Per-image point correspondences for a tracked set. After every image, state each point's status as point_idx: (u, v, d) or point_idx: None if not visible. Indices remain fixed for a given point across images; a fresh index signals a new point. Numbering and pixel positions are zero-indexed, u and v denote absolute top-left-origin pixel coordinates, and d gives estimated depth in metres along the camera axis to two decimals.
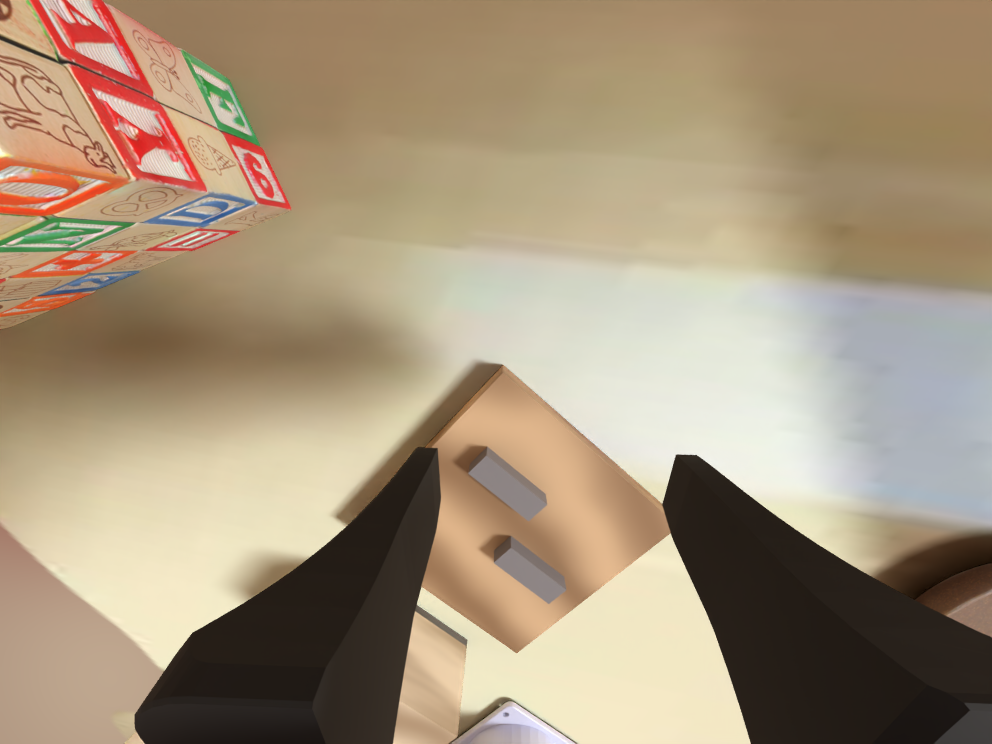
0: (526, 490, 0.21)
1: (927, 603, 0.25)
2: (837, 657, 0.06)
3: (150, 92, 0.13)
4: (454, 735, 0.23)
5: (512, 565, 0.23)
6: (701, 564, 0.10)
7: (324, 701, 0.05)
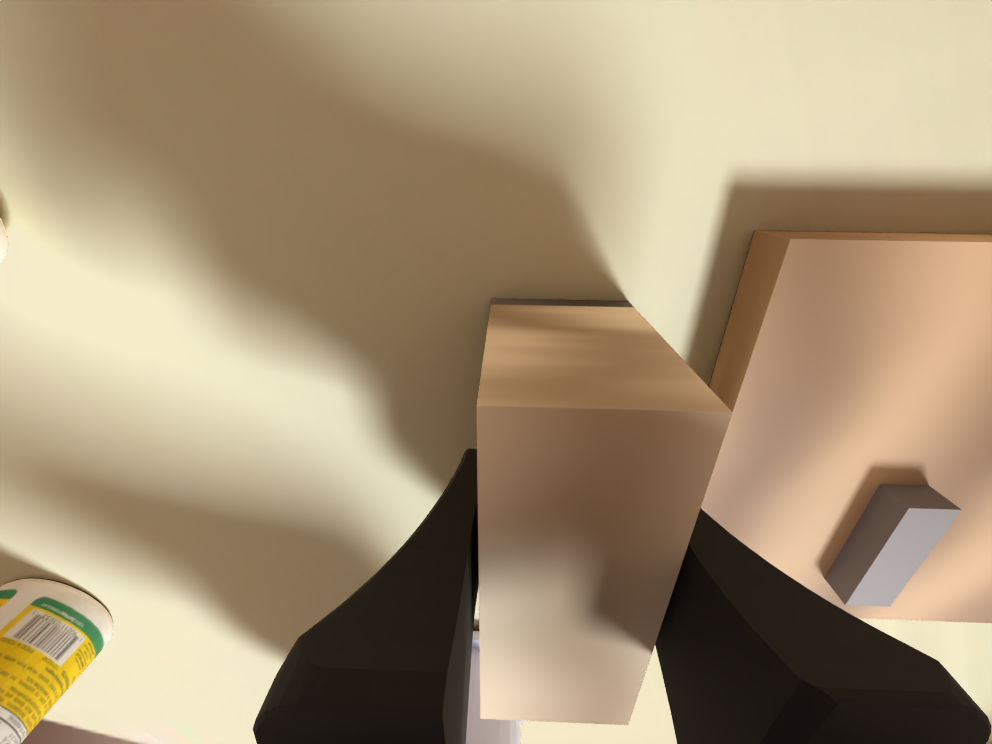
0: None
1: None
2: (738, 653, 0.06)
3: None
4: (627, 721, 0.11)
5: (914, 531, 0.12)
6: None
7: (446, 706, 0.05)
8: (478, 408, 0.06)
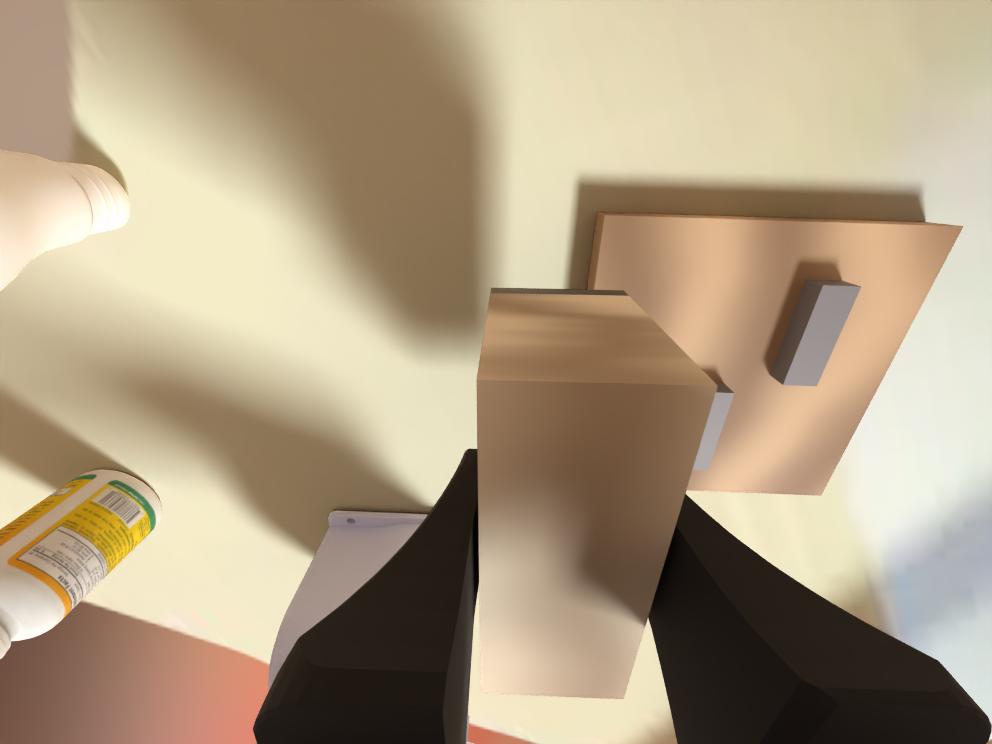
0: (826, 356, 0.17)
1: None
2: (738, 653, 0.06)
3: None
4: (622, 695, 0.11)
5: None
6: None
7: (446, 707, 0.05)
8: (478, 382, 0.07)
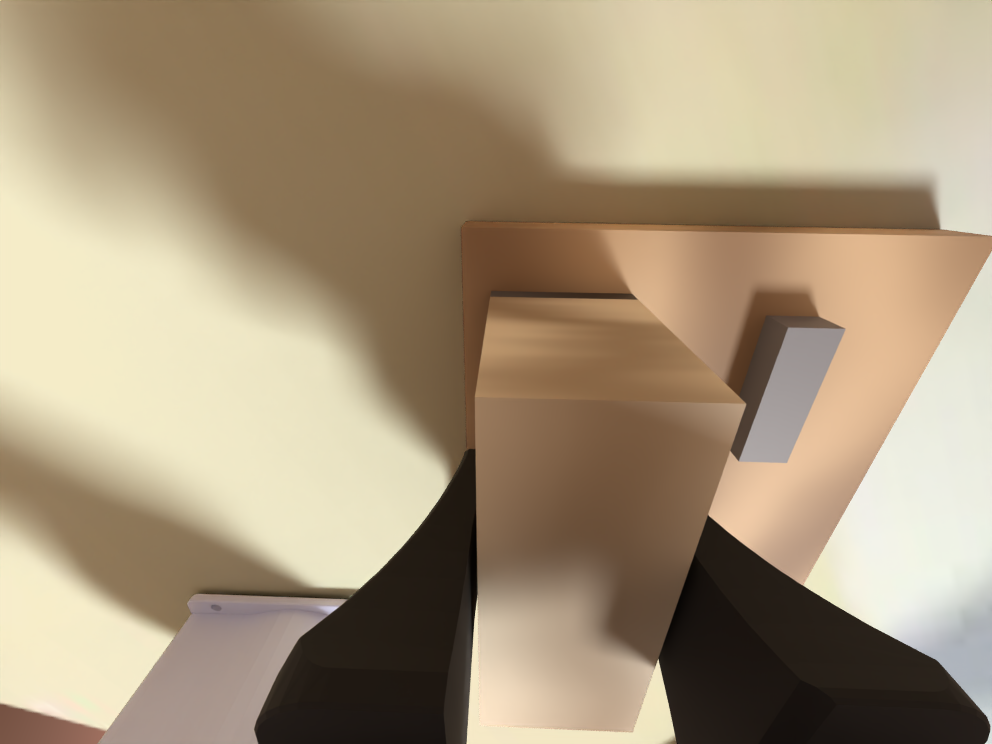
0: (798, 424, 0.12)
1: None
2: (737, 653, 0.06)
3: None
4: (632, 728, 0.10)
5: None
6: None
7: (447, 706, 0.05)
8: (476, 400, 0.06)
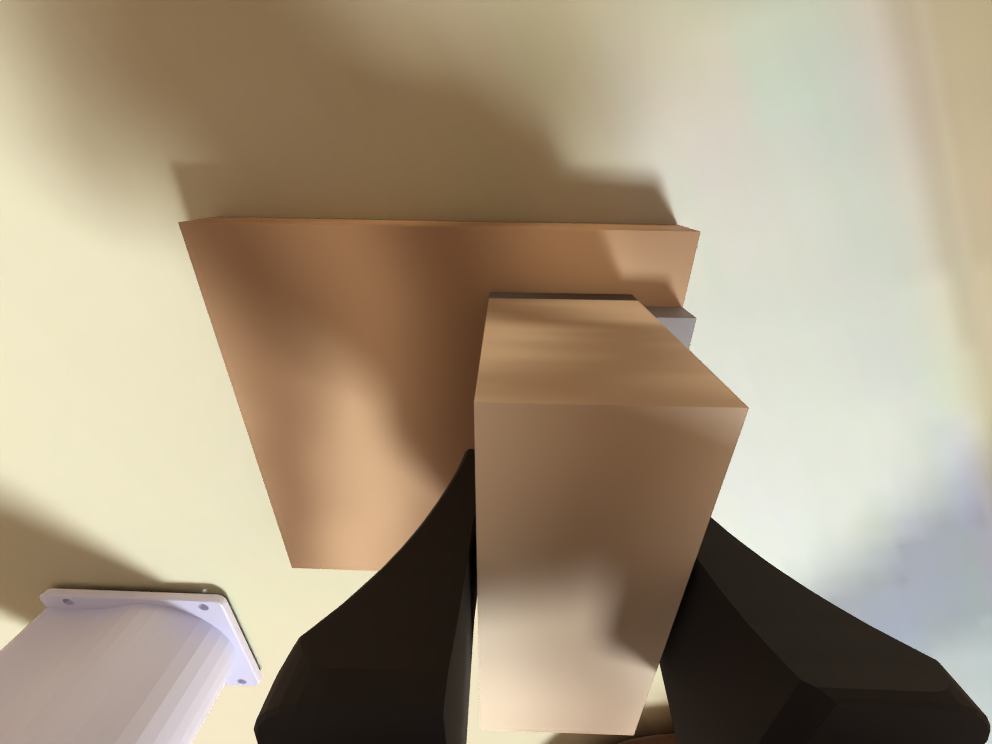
0: None
1: None
2: (737, 653, 0.06)
3: None
4: (633, 731, 0.10)
5: None
6: None
7: (447, 706, 0.05)
8: (476, 405, 0.06)
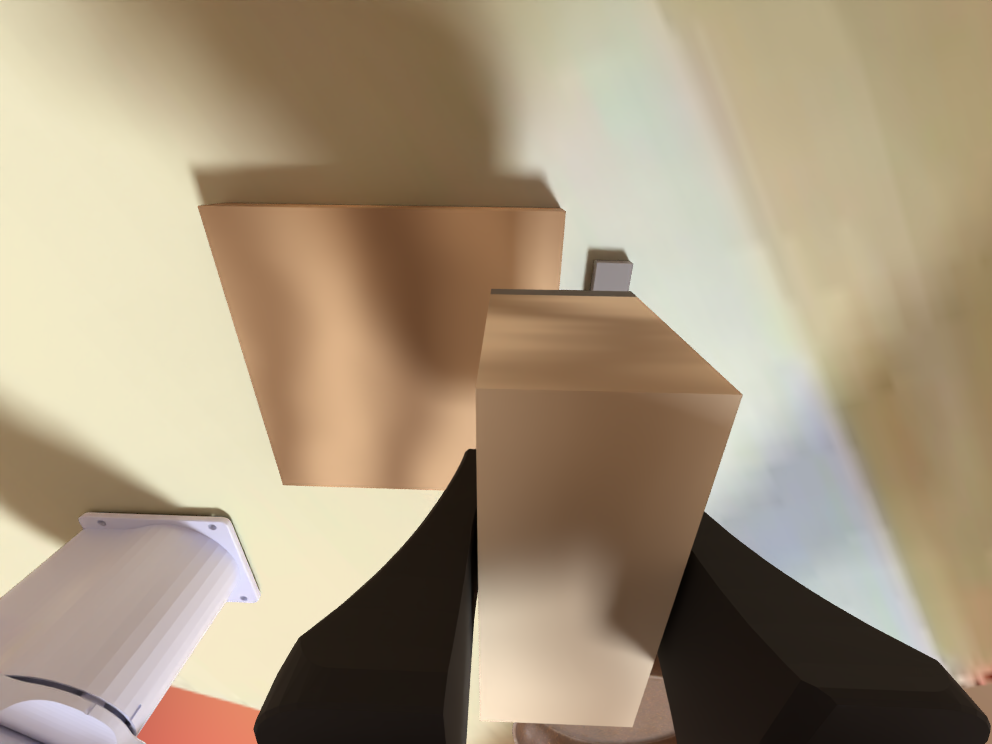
0: None
1: None
2: (737, 653, 0.06)
3: None
4: (632, 723, 0.10)
5: None
6: None
7: (446, 706, 0.05)
8: (477, 391, 0.06)
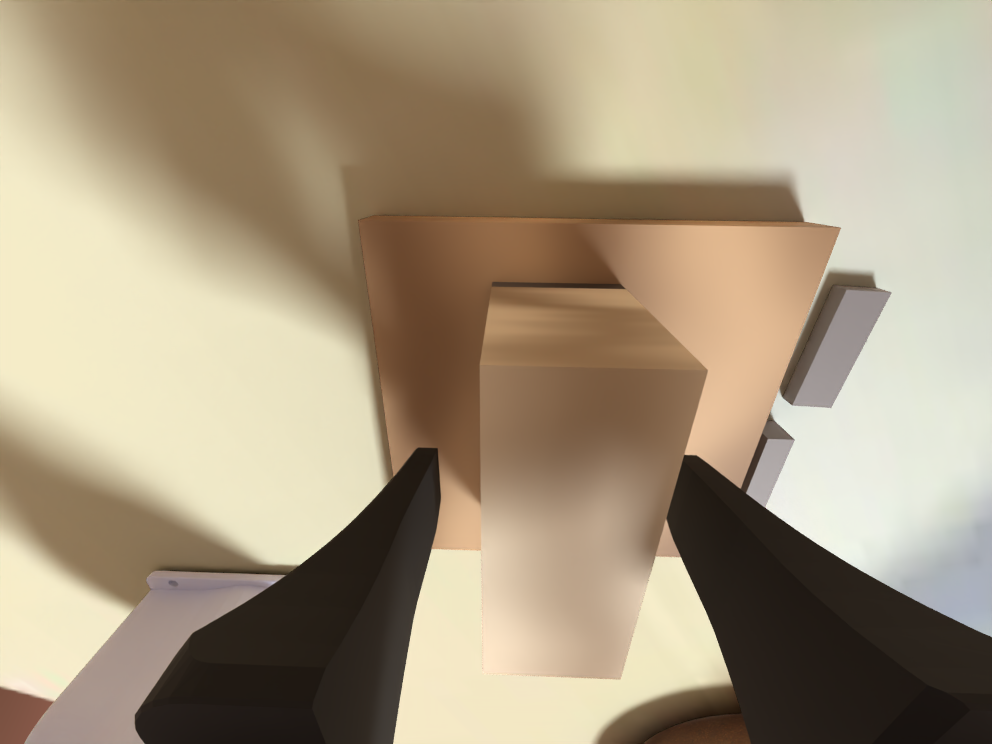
0: None
1: None
2: (837, 657, 0.06)
3: None
4: (619, 675, 0.11)
5: None
6: (701, 565, 0.10)
7: (324, 701, 0.05)
8: (481, 367, 0.07)
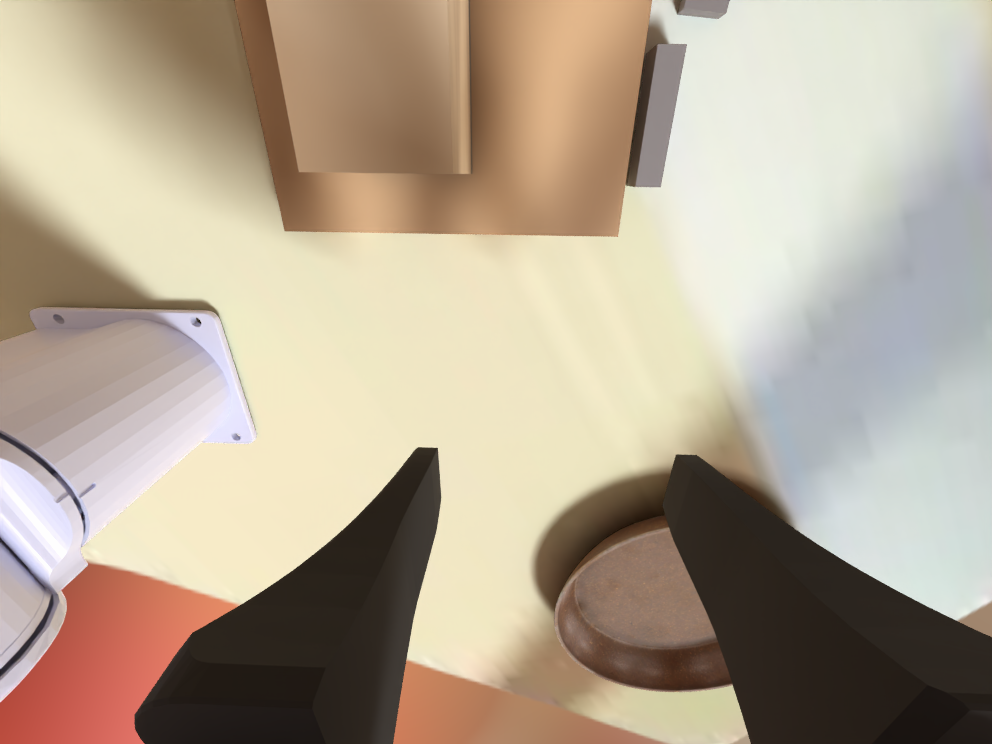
0: None
1: None
2: (837, 657, 0.06)
3: None
4: (451, 165, 0.10)
5: None
6: (701, 565, 0.10)
7: (324, 701, 0.05)
8: None
